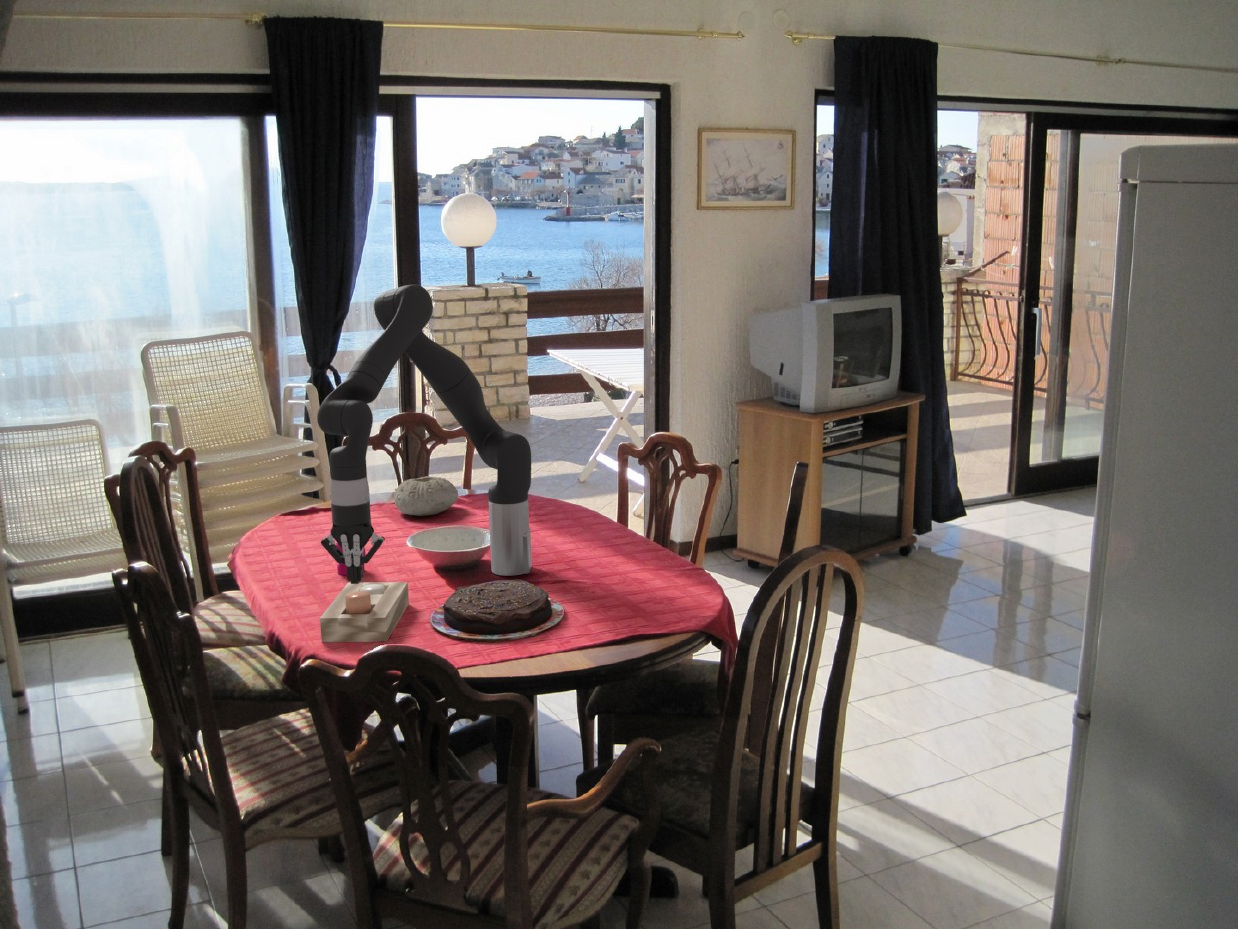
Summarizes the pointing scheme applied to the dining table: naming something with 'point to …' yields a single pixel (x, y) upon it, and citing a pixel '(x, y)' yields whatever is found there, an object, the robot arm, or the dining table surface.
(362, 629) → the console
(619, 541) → the dining table surface
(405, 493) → the decorative shell
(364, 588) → the cream button
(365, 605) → the terracotta button
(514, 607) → the chocolate cake
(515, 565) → the robot arm
